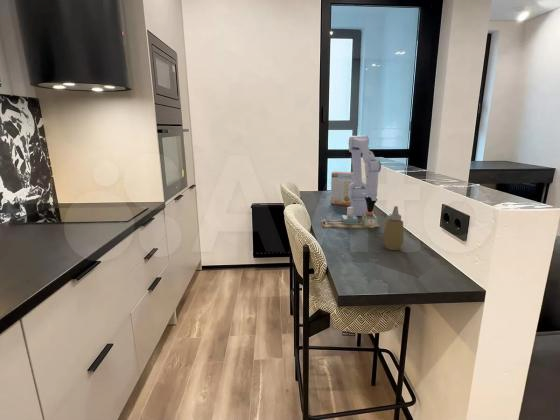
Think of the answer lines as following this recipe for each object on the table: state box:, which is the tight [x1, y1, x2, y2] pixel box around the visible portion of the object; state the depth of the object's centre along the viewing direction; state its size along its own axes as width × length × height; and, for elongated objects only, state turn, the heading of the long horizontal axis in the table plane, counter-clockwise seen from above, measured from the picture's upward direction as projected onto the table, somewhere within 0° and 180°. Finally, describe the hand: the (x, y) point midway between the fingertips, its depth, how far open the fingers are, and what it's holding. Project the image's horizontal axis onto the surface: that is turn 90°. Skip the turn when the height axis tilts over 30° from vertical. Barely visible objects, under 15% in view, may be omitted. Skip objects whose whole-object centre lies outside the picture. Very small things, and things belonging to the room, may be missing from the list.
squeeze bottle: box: [382, 205, 405, 251], centre depth 133 cm, size 8×8×18 cm
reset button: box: [365, 210, 375, 217], centre depth 165 cm, size 4×4×4 cm
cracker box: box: [330, 170, 356, 207], centre depth 207 cm, size 14×6×21 cm, turn 58°
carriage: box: [341, 206, 359, 224], centre depth 166 cm, size 7×7×8 cm
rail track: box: [321, 218, 380, 229], centre depth 167 cm, size 28×9×3 cm, turn 87°
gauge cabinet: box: [361, 213, 378, 226], centre depth 166 cm, size 6×8×5 cm
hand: (370, 211), depth 165 cm, fingers closed
